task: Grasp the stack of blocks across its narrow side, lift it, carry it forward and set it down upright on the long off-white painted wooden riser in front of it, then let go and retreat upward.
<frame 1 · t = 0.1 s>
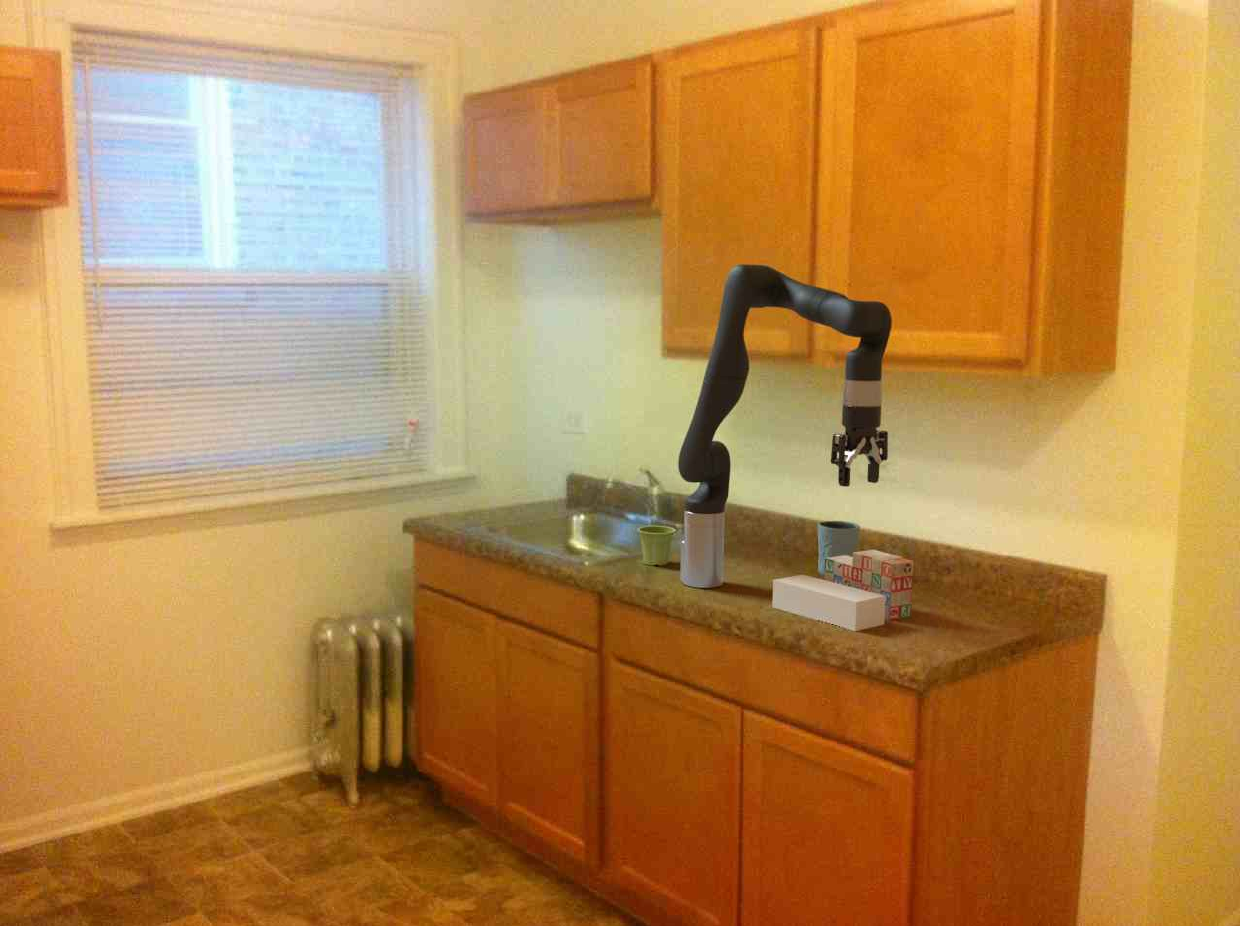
hand: (858, 484, 233), 29 cm above the worktop, fingers open, 8 cm apart
riser: (826, 615, 245), on the worktop
stack of blocks: (865, 608, 253), on the worktop
plant pot: (655, 564, 293), on the worktop
blue cup: (836, 573, 285), on the worktop
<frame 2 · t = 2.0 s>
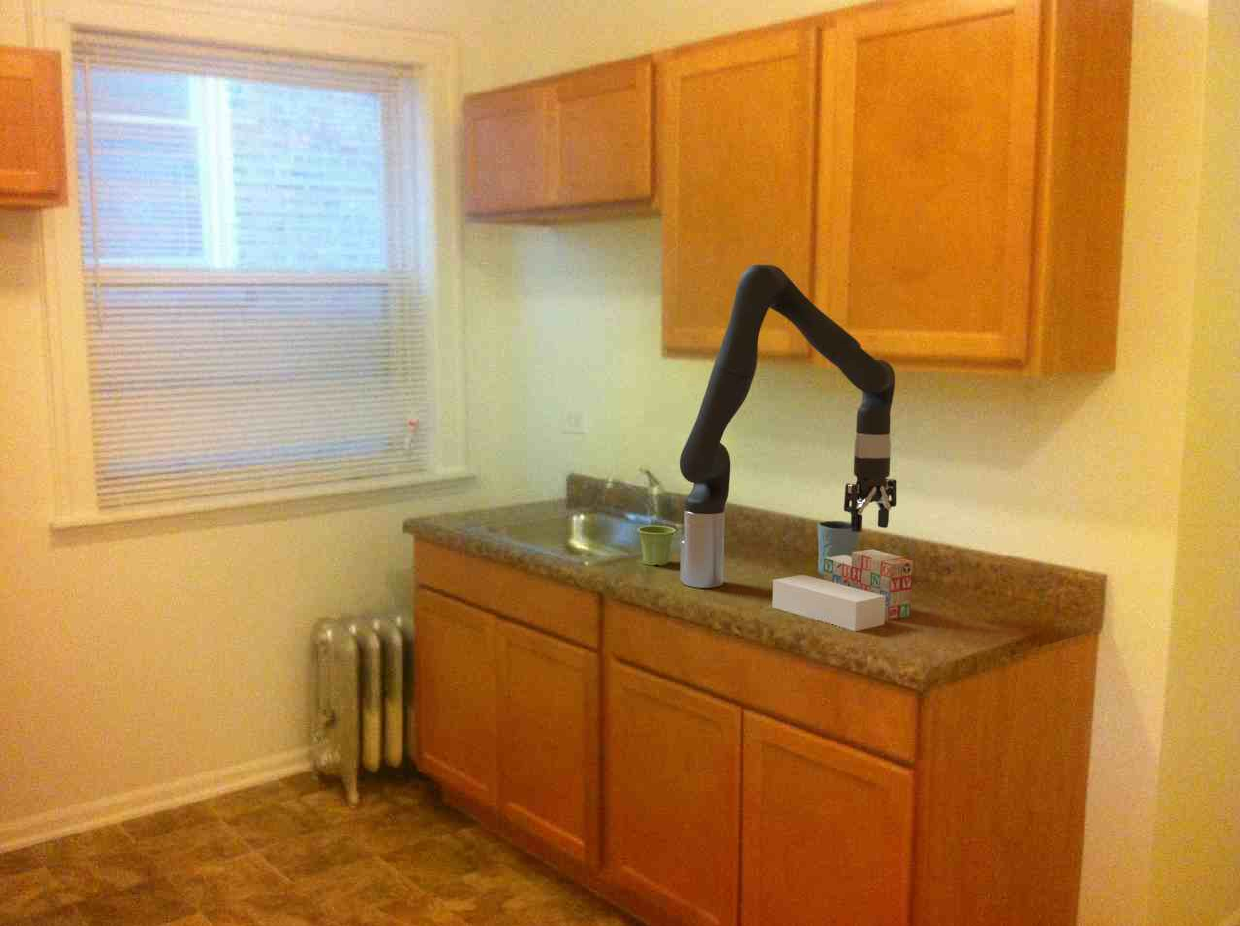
hand: (869, 529, 251), 17 cm above the worktop, fingers open, 8 cm apart
nothing on the worktop moved.
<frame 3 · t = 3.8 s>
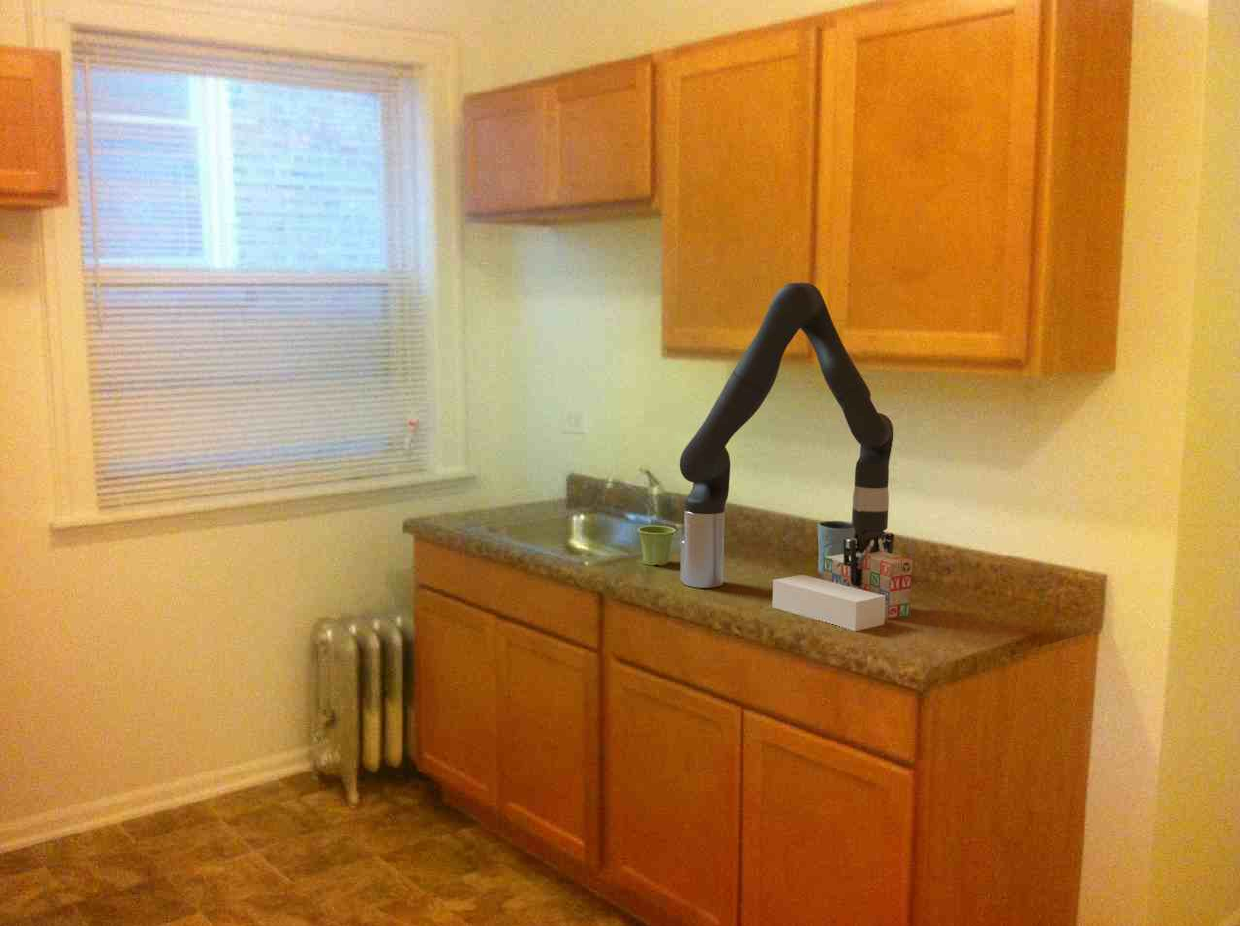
hand: (867, 582, 252), 5 cm above the worktop, fingers closed on stack of blocks, 6 cm apart
stack of blocks: (864, 607, 253), on the worktop, touching gripper
everything else where it was.
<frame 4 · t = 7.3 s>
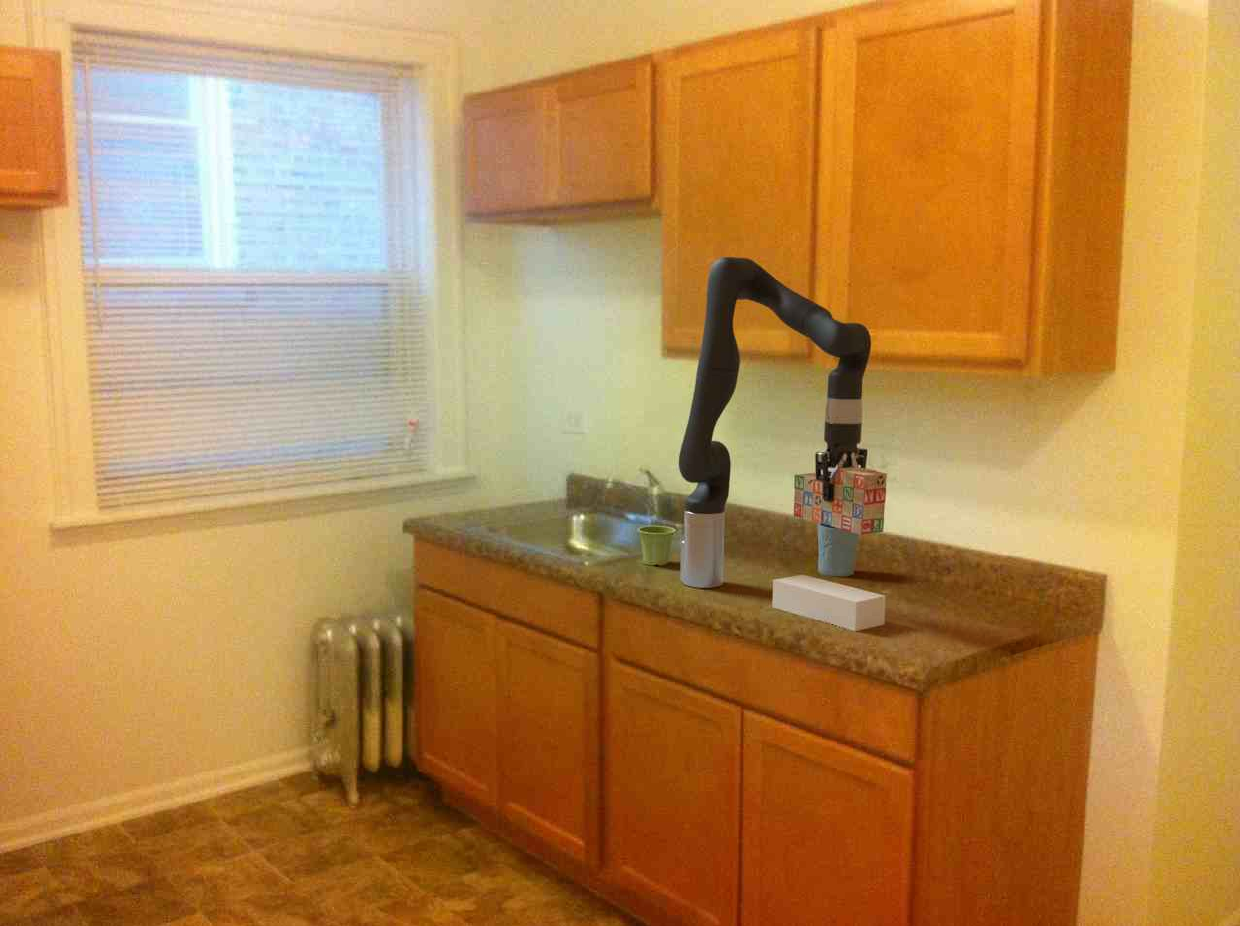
hand: (839, 499, 244), 24 cm above the worktop, fingers closed on stack of blocks, 6 cm apart
stack of blocks: (837, 525, 245), point 19 cm above the worktop, touching gripper
everything else where it was.
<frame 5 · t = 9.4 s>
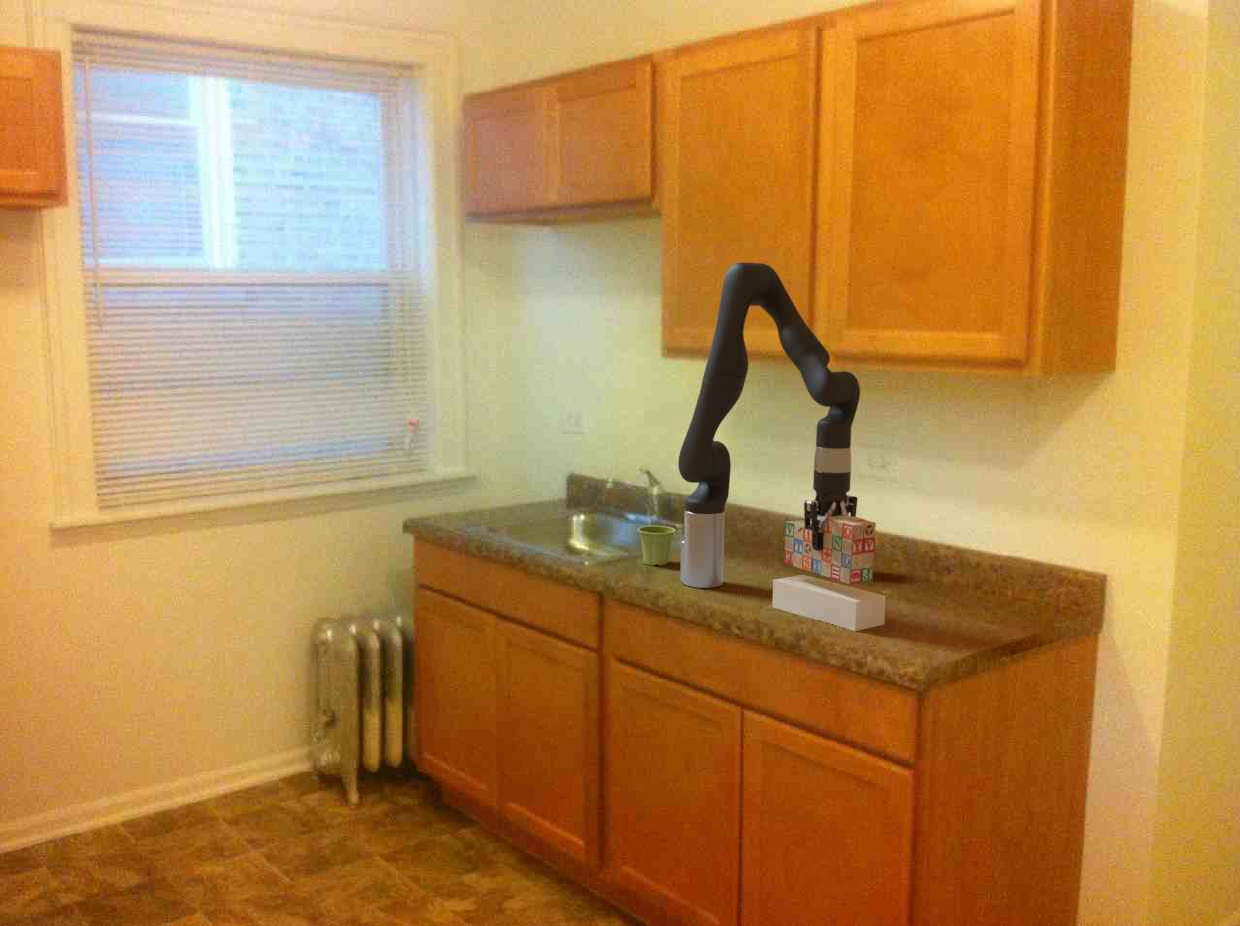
hand: (829, 547, 243), 15 cm above the worktop, fingers closed on stack of blocks, 6 cm apart
stack of blocks: (827, 573, 245), point 9 cm above the worktop, touching gripper
everything else where it was.
when the fingers open (13 cm above the worktop, at t = 10.8 s): stack of blocks drops 1 cm, resting on riser.
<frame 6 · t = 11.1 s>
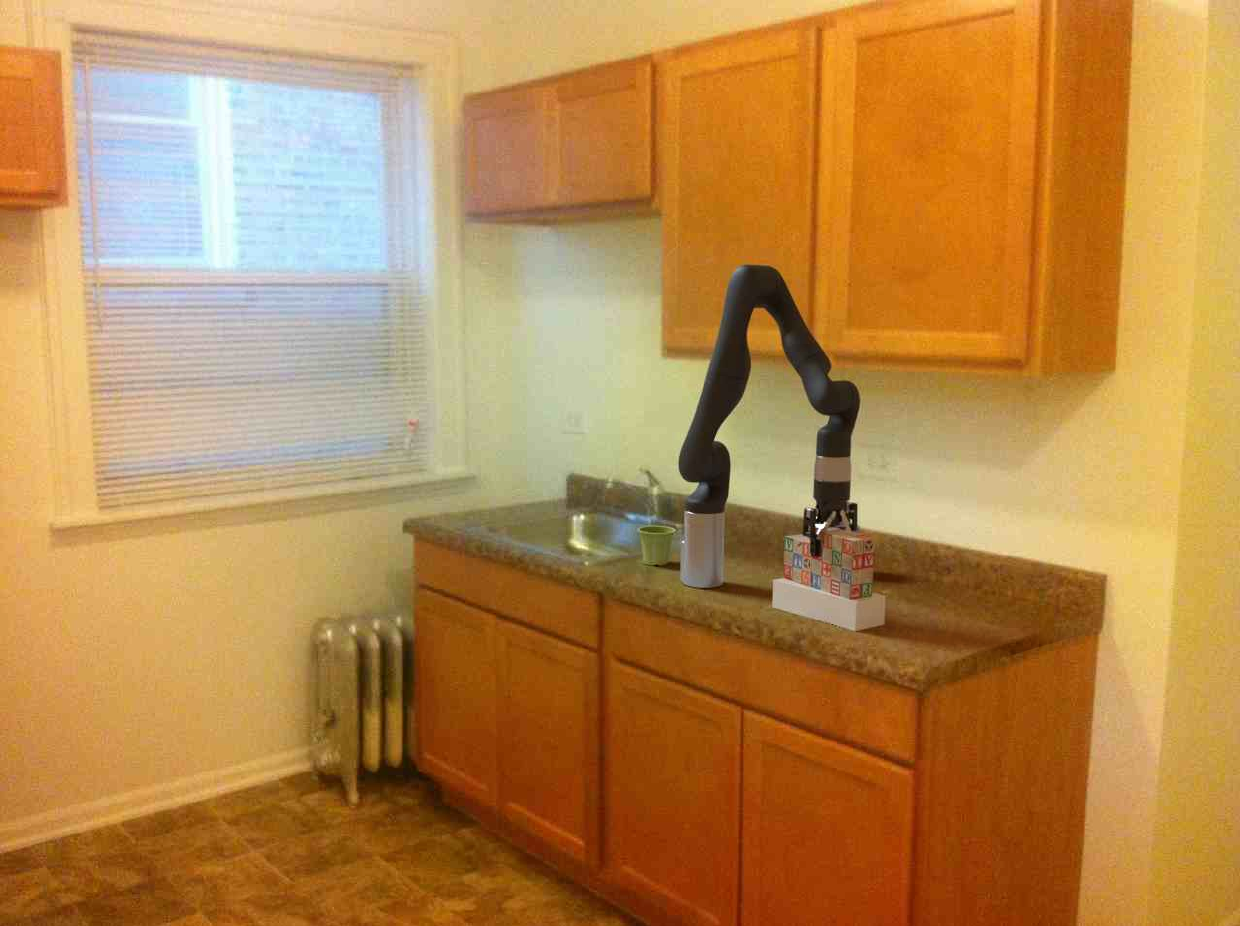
hand: (829, 554, 244), 13 cm above the worktop, fingers open, 8 cm apart
stack of blocks: (826, 588, 245), point 6 cm above the worktop, touching riser
everything else where it was.
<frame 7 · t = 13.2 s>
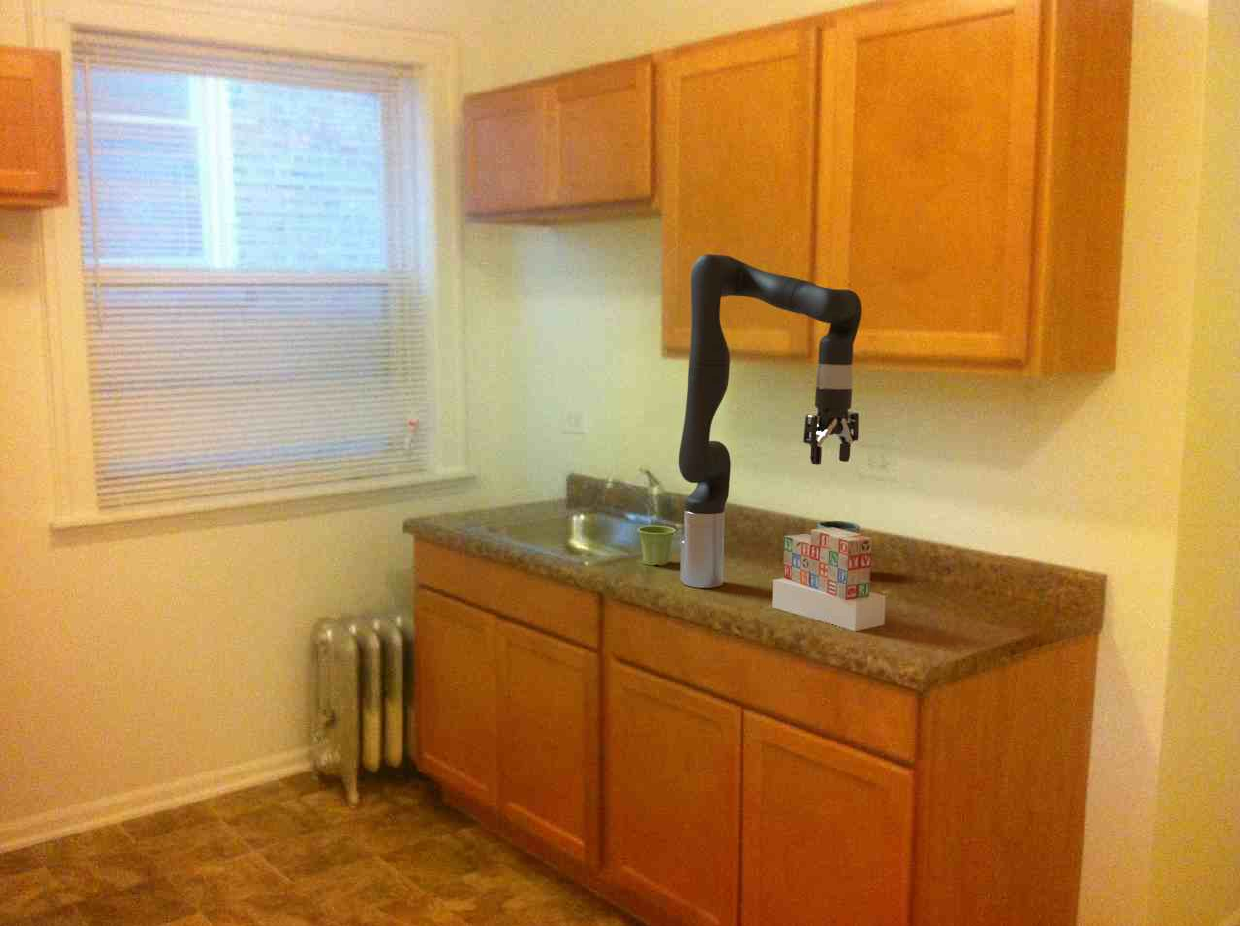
hand: (830, 462, 246), 32 cm above the worktop, fingers open, 8 cm apart
nothing on the worktop moved.
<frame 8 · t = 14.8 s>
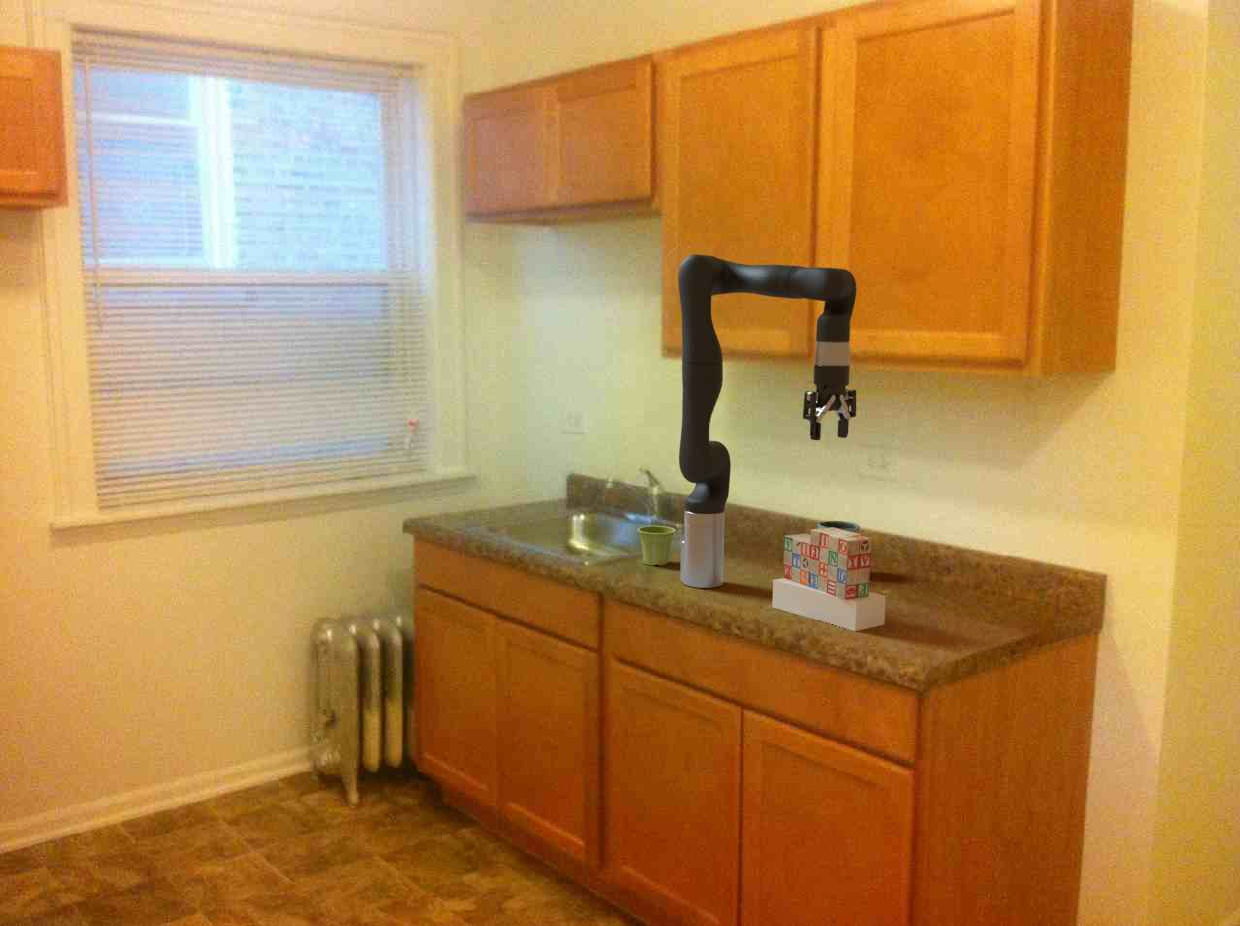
hand: (829, 438, 251), 36 cm above the worktop, fingers open, 8 cm apart
nothing on the worktop moved.
at the end: stack of blocks inside the target area on the riser (0.9 cm from its centre), point 5.8 cm above the riser's base; stack of blocks tilted 0°; the gripper is holding nothing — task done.
